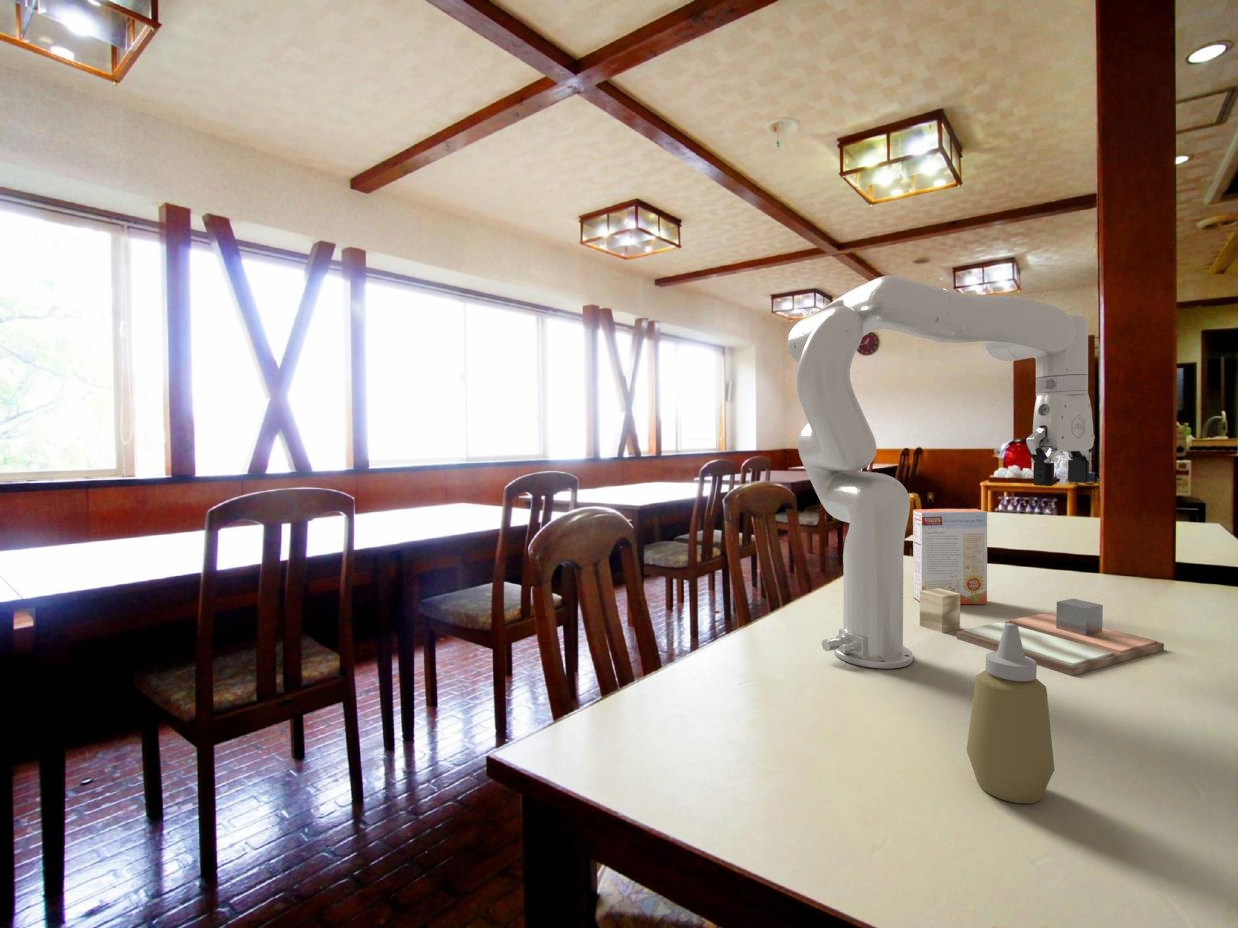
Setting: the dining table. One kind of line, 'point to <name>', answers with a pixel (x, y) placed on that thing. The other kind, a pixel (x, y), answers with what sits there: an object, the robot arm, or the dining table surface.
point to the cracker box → (951, 552)
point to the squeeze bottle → (1010, 725)
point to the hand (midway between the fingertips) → (1061, 483)
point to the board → (1064, 644)
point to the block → (940, 610)
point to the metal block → (1079, 617)
